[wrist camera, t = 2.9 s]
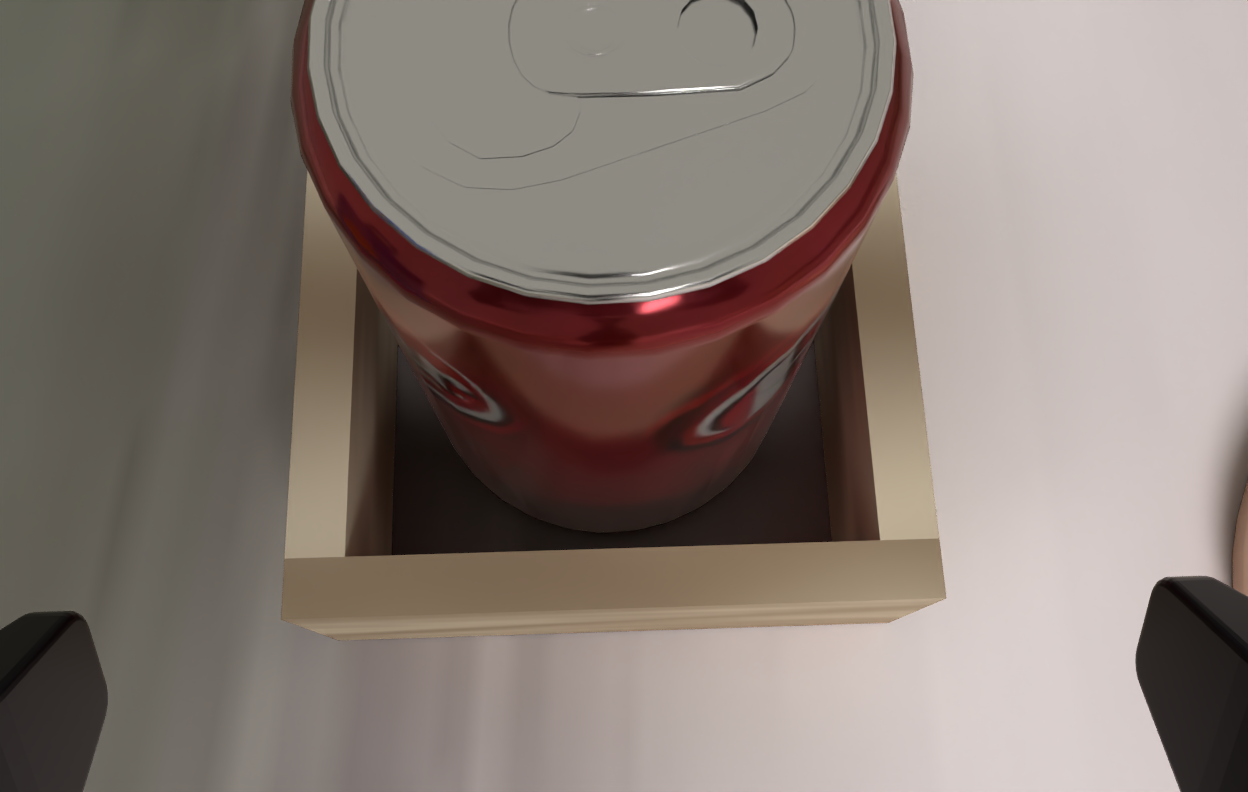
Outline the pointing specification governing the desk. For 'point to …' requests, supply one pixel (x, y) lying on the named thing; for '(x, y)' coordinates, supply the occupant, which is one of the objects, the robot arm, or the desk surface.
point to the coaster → (1241, 548)
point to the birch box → (620, 577)
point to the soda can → (603, 219)
